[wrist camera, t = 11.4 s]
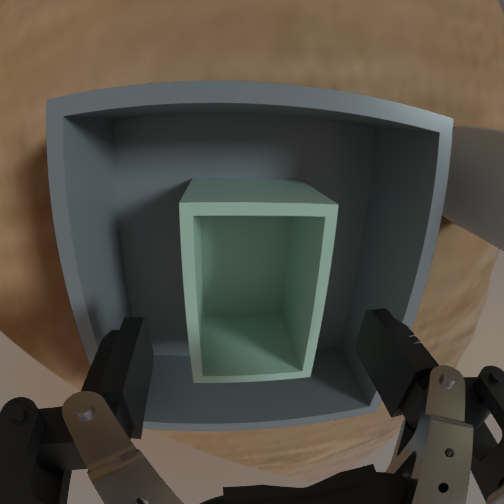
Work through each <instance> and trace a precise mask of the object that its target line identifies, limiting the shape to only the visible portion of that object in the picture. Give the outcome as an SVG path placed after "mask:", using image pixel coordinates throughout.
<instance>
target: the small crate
mask: <svg viewBox="0 0 504 504" xmlns="http://www.w3.org/2000/svg"><path fill="white" fill-rule="evenodd" d="M338 206H339V204H337V203H336V202H334V201H332V200H331V199H329V198H328V197H326V196H325V195H323V194H322V193H320V192H319V191H317V190H316V189H314V188H312V187H311V186H309V185H308V184H306V183H305V182H303V181H301V180H297V179H269V178H192V180H191V182H190V184H189V186H188V187H187V189H186V191H185V193H184V195H183V196H182V198H181V200H180V202H179V214H180V237H181V256H182V272H183V286H184V298H185V310H186V321H187V331H188V341H189V350H190V359H191V367H192V375H193V383H231V382H255V381H271V380H284V379H295V378H306V377H310V376H311V372H312V367H313V363H314V358H315V353H316V348H317V343H318V338H319V333H320V328H321V322H322V317H323V311H324V305H325V300H326V294H327V287H328V281H329V275H330V268H331V261H332V254H333V247H334V240H335V232H336V224H337V215H338Z"/></svg>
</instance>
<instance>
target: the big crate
mask: <svg viewBox="0 0 504 504" xmlns="http://www.w3.org/2000/svg"><path fill="white" fill-rule="evenodd" d="M452 131H453V119H452V118H449V117H446V116H443V115H440V114H436V113H433V112H430V111H426V110H423V109H419V108H416V107H412V106H408V105H404V104H400V103H396V102H392V101H388V100H384V99H379V98H374V97H370V96H365V95H360V94H354V93H349V92H343V91H337V90H330V89H324V88H316V87H308V86H300V85H290V84H279V83H266V82H248V81H180V82H162V83H149V84H138V85H129V86H120V87H113V88H106V89H99V90H93V91H87V92H81V93H76V94H71V95H66V96H61V97H57V98H52V99H48V100H47V112H46V139H47V163H48V178H49V189H50V198H51V207H52V215H53V222H54V228H55V235H56V241H57V246H58V252H59V257H60V262H61V266H62V271H63V276H64V280H65V284H66V288H67V292H68V296H69V300H70V304H71V307H72V311H73V315H74V318H75V321H76V325H77V328H78V331H79V334H80V338H81V341H82V344H83V347H84V350H85V353H86V355H87V358H88V361H89V364H90V366H91V364H92V362H93V360H94V357H95V355H96V352H97V351H98V347H99V345H100V343H101V340H102V338H103V337H104V336H105V335H106V334H108V333H109V332H110V331H111V330H120V327H121V324H122V322H123V319H124V317H125V316H133V317H146V318H147V321H148V327H149V332H150V337H151V343H152V348H153V356H154V363H153V370H152V375H151V381H150V386H149V392H148V397H147V403H146V409H145V415H144V422H143V428H146V429H158V430H177V431H235V430H254V429H268V428H279V427H289V426H297V425H305V424H312V423H319V422H326V421H332V420H337V419H343V418H348V417H353V416H358V415H363V414H368V413H372V412H376V411H377V410H378V408H379V406H380V403H381V401H382V399H381V397H380V395H379V393H378V391H377V390H376V388H375V386H374V384H373V382H372V381H371V379H370V377H369V375H368V373H367V371H366V370H365V368H364V366H363V364H362V363H361V361H360V359H359V357H358V355H357V350H356V344H357V339H358V336H359V332H360V329H361V325H362V321H363V318H364V314H365V312H366V311H367V310H372V309H382V308H386V309H387V310H388V311H389V312H390V313H391V314H392V316H393V317H394V318H395V319H396V320H399V321H400V322H402V323H403V324H405V325H406V326H408V327H409V329H410V330H411V329H412V326H413V323H414V320H415V317H416V314H417V311H418V308H419V305H420V302H421V298H422V295H423V292H424V288H425V285H426V281H427V278H428V274H429V270H430V267H431V263H432V259H433V255H434V251H435V246H436V242H437V237H438V233H439V228H440V223H441V218H442V212H443V207H444V201H445V195H446V188H447V181H448V173H449V165H450V156H451V145H452ZM192 178H269V179H297V180H301V181H303V182H305V183H306V184H308V185H309V186H311V187H312V188H314V189H316V190H317V191H319V192H320V193H322V194H323V195H325V196H326V197H328V198H329V199H331V200H332V201H334V202H336V203H337V204H339V206H338V215H337V224H336V232H335V240H334V247H333V254H332V261H331V268H330V275H329V281H328V287H327V294H326V300H325V305H324V311H323V317H322V322H321V328H320V333H319V338H318V343H317V348H316V353H315V358H314V363H313V367H312V372H311V376H310V377H306V378H295V379H284V380H271V381H255V382H231V383H193V375H192V367H191V359H190V350H189V341H188V331H187V321H186V310H185V298H184V286H183V272H182V256H181V237H180V214H179V202H180V200H181V198H182V196H183V195H184V193H185V191H186V189H187V187H188V186H189V184H190V182H191V180H192Z"/></svg>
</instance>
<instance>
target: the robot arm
mask: <svg viewBox="0 0 504 504" xmlns="http://www.w3.org/2000/svg"><path fill="white" fill-rule="evenodd" d="M356 350H357V355H358V357H359V359H360V361H361V363H362V364H363V366H364V368H365V370H366V371H367V373H368V375H369V377H370V379H371V381H372V382H373V384H374V386H375V388H376V390H377V391H378V393H379V395H380V397H381V399H382V401H383V403H384V404H385V406H386V408H387V410H388V412H389V414H390V416H391V418H392V417H395V416H399V415H402V414H403V415H404V417H405V419H404V421H403V422H402V425H401V429H400V433H399V437H398V440H397V444H396V447H395V451H394V454H393V457H392V460H391V463H390V465H389V467H388V469H387V470H386V472H376V471H375V468H374V465H373V464H371V465H367V466H364V467H360V468H357V469H352V470H348V471H344V472H340V473H338V474H336V475H334V476H331V477H329V478H327V479H325V480H323V481H320V482H318V483H316V484H314V485H311V486H309V487H305V488H293V487H280V486H268V485H255V486H240V487H223V493H224V495H223V496H220V497H215V498H213V499H210V500H207V501H205V502H203V503H200V504H466V498H467V492H468V486H469V478H470V470H471V471H472V473H473V475H474V478H475V479H476V482H477V484H478V486H479V488H480V490H481V492H482V494H483V497H484V499H485V501H486V504H504V372H503V371H502V370H501V369H500V368H498V367H495V366H486V367H484V368H483V369H482V370H481V372H480V374H479V375H478V377H463V376H462V374H461V373H460V372H459V371H457V370H456V369H455V368H452V367H450V366H445V365H441V366H439V365H438V363H437V362H436V361H435V360H434V358H433V357H432V356H431V355H430V353H429V352H428V351H427V349H426V348H425V347H424V346H423V345H422V343H420V341H419V340H418V338H417V337H416V336H414V333H413V332H412V331H411V330H410V329H409V327H408V326H406V325H405V324H403V323H402V322H400V321H399V320H396V319H395V318H394V317H393V316H392V314H391V313H390V312H389V311H388V310H387V309H386V308H382V309H372V310H367V311H366V312H365V314H364V318H363V321H362V325H361V329H360V332H359V336H358V339H357V344H356ZM153 363H154V356H153V348H152V343H151V337H150V332H149V327H148V321H147V318H146V317H133V316H125V317H124V319H123V322H122V324H121V327H120V330H111V331H110V332H109V333H108V334H106V335H105V336H104V337H103V338H102V340H101V343H100V345H99V347H98V351H97V352H96V355H95V357H94V360H93V362H92V364H91V367H90V369H89V372H88V374H87V377H86V380H85V382H84V385H83V387H82V390H81V392H78V393H75V394H73V395H71V396H70V397H69V398H68V399H67V400H66V401H65V402H64V404H63V406H61V407H54V408H44V409H38V408H37V406H36V405H35V403H34V402H33V401H32V400H30V399H28V398H25V397H18V398H14V399H12V400H10V401H8V402H7V403H6V404H5V405H4V406H3V408H2V410H1V412H0V504H67V498H68V491H69V484H70V478H71V471H72V470H76V469H88V472H87V473H88V476H89V478H90V480H91V481H92V484H93V485H94V487H95V489H96V490H97V492H98V494H99V495H100V497H101V499H102V500H103V502H104V503H105V504H183V503H182V501H181V500H180V499H179V498H178V497H177V496H176V495H175V493H174V492H173V491H172V490H171V489H170V488H169V486H168V485H167V484H166V483H165V482H164V480H163V479H162V478H161V477H160V476H159V474H158V473H157V472H156V471H155V469H154V468H153V467H152V465H151V464H150V463H149V461H148V460H147V459H146V458H145V456H144V455H143V454H142V452H141V451H140V450H137V449H136V447H135V446H134V445H133V443H132V442H131V438H135V439H141V435H142V428H143V422H144V415H145V409H146V403H147V397H148V392H149V386H150V381H151V375H152V370H153ZM490 413H491V414H492V415H493V417H494V418H495V420H496V421H497V423H498V425H499V426H500V428H501V430H502V439H501V441H500V443H499V444H497V442H496V440H495V439H494V437H493V435H492V434H491V432H490V430H489V429H488V427H487V426H486V424H485V422H484V420H485V419H486V418H487V417H488V415H489V414H490Z"/></svg>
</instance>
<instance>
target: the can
mask: <svg viewBox="0 0 504 504" xmlns="http://www.w3.org/2000/svg"><path fill="white" fill-rule="evenodd" d="M442 215H443V217H445V218H446V219H448V220H449V221H451V222H452V223H454V224H456V225H458V226H460V227H462V228H464V229H466V230H467V231H469V232H471V233H473V234H475V235H477V236H478V237H480V238H482V239H484V240H486V241H487V242H489V243H491V244H492V245H494V246H496V247H498V248H499V249H501V250H503V251H504V131H502V130H496V129H489V128H481V127H473V126H457V127H455V128H454V129H453V131H452V145H451V156H450V165H449V173H448V181H447V188H446V195H445V201H444V207H443V212H442Z"/></svg>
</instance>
